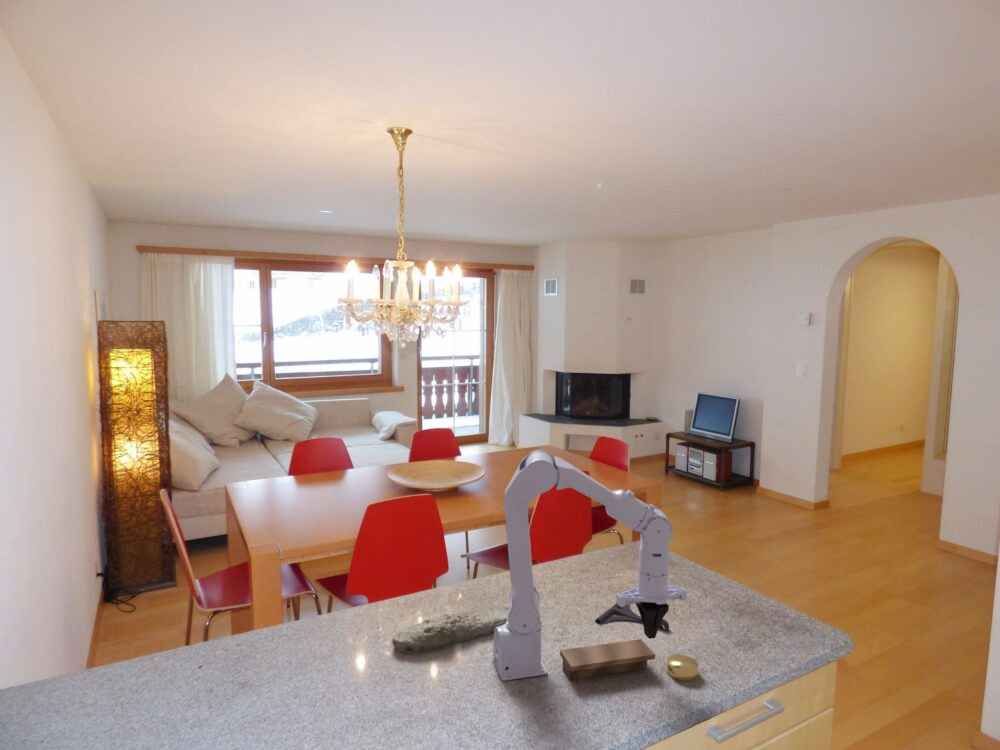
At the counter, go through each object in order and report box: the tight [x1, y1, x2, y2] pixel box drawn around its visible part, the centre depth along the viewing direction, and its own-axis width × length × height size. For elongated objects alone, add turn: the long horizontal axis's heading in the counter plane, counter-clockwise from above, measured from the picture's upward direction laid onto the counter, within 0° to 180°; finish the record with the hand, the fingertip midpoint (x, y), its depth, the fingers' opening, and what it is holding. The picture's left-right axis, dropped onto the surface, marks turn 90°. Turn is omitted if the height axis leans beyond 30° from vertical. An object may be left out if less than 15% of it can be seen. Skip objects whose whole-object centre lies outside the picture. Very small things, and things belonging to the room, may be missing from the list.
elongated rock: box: [392, 602, 510, 654], centre depth 139 cm, size 35×5×10 cm
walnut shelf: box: [559, 638, 656, 680], centre depth 124 cm, size 18×6×4 cm, turn 105°
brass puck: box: [666, 653, 699, 683], centre depth 124 cm, size 6×6×2 cm
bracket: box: [594, 603, 670, 632], centre depth 145 cm, size 14×15×3 cm
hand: (649, 635), depth 123 cm, fingers closed
